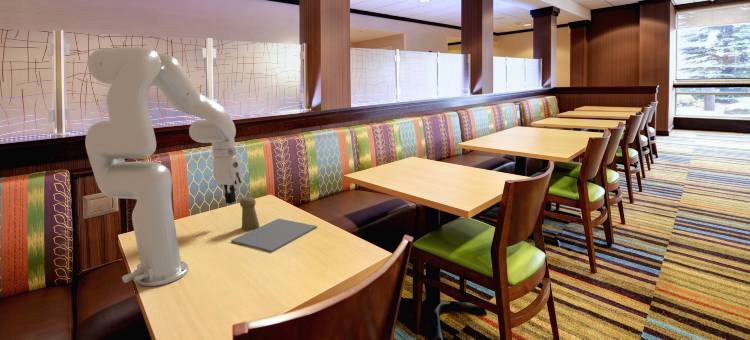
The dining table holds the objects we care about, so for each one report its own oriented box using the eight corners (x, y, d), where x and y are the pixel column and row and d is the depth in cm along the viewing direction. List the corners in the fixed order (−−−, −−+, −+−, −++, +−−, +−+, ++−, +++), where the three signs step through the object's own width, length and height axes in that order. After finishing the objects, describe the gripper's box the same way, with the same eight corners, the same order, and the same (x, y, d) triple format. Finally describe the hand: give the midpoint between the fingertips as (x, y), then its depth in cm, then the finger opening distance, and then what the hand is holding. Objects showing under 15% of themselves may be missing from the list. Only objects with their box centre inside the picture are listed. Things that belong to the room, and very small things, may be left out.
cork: (248, 232, 138) (245, 201, 135) (238, 228, 141) (234, 198, 139) (263, 226, 142) (259, 197, 140) (252, 223, 146) (249, 194, 143)
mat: (271, 252, 121) (271, 250, 121) (231, 241, 130) (231, 240, 130) (317, 227, 139) (317, 226, 139) (278, 219, 148) (278, 218, 148)
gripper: (247, 152, 139) (253, 202, 144) (219, 149, 147) (225, 197, 151) (230, 156, 133) (237, 208, 137) (201, 153, 141) (208, 202, 145)
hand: (230, 202), depth 144 cm, fingers closed
